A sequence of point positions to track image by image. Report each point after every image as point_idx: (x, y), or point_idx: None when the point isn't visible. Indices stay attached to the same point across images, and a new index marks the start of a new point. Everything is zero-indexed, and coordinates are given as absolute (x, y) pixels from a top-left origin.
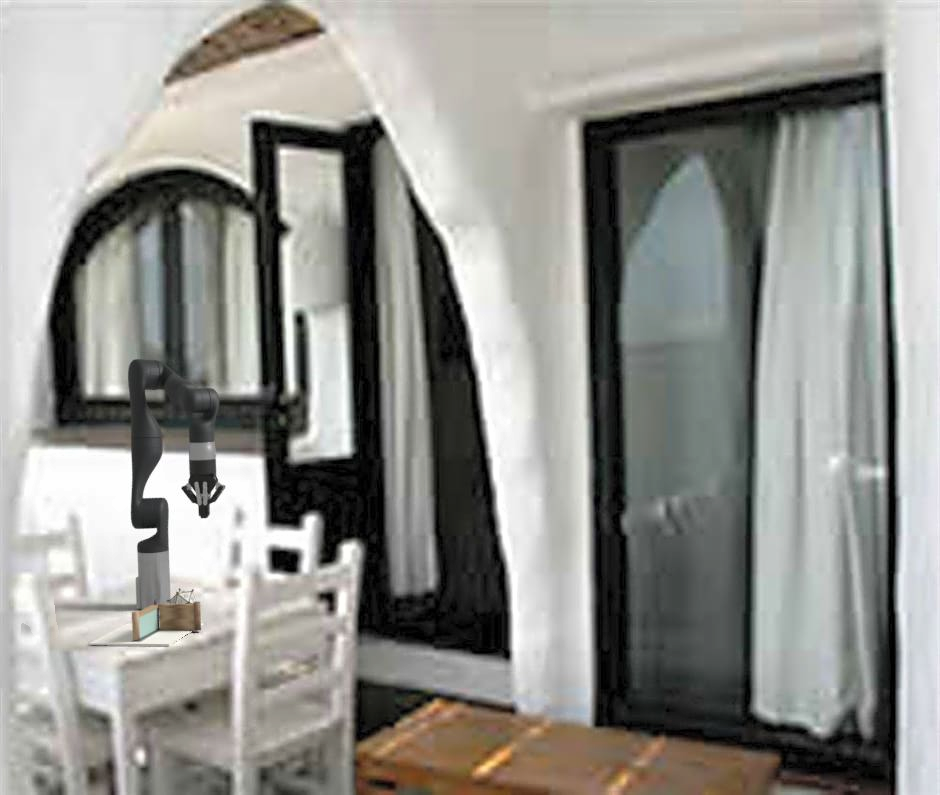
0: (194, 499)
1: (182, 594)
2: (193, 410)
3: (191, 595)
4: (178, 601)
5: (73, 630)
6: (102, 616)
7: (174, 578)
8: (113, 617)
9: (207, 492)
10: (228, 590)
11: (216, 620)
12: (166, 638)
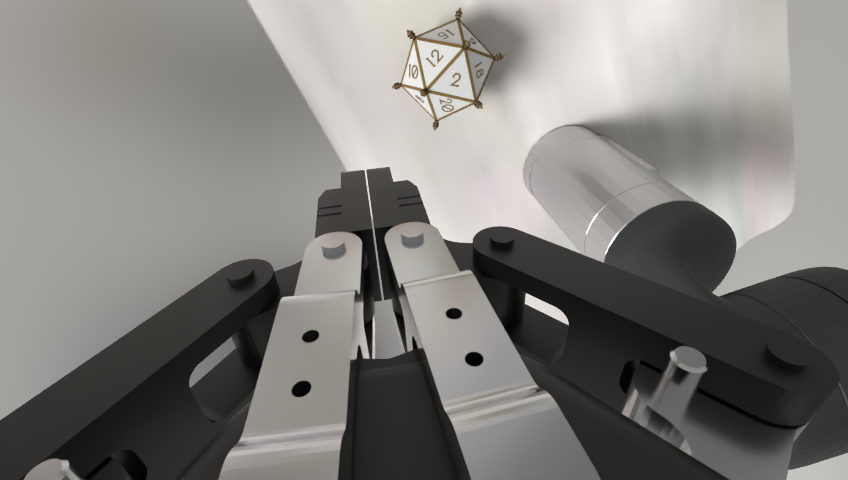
0: (494, 256)
1: (447, 55)
2: None
3: (420, 75)
4: (452, 33)
5: None
6: (682, 38)
7: None
8: (648, 27)
9: (274, 367)
10: None
11: (301, 16)
12: None
